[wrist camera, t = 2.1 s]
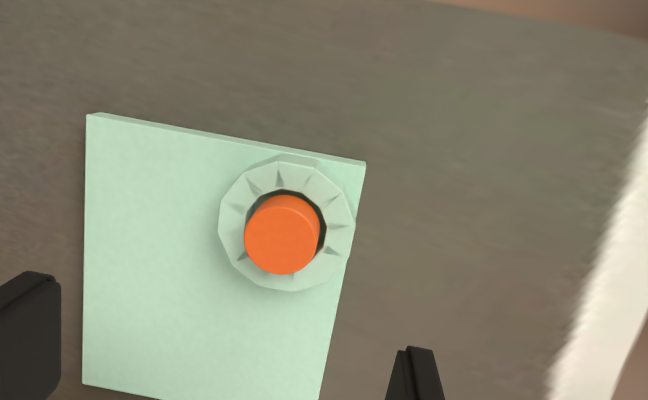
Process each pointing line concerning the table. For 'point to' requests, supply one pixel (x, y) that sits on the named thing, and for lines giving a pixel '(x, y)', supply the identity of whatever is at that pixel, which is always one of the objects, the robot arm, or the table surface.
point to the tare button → (282, 234)
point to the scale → (205, 264)
